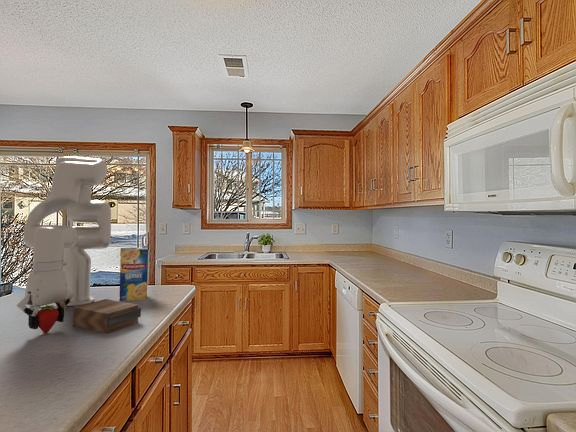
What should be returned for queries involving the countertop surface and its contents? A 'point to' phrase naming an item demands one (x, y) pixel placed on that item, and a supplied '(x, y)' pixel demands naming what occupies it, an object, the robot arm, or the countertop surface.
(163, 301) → the countertop surface
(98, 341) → the countertop surface
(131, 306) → the brown wooden block
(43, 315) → the strawberry
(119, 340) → the countertop surface
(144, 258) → the blue yellow food box
